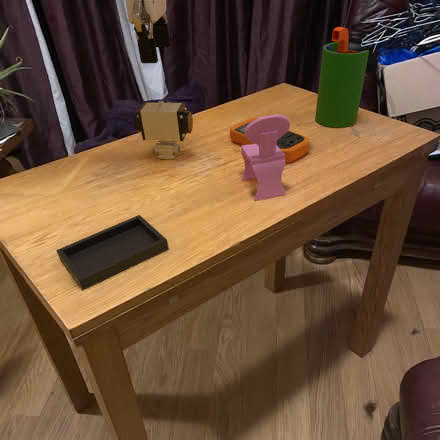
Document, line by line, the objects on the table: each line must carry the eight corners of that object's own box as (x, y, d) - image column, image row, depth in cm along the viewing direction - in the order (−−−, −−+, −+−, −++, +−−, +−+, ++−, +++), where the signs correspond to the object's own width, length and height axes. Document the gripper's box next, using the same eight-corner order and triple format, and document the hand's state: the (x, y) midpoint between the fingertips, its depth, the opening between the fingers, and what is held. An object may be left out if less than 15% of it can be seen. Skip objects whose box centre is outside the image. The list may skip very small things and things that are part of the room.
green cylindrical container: (362, 118, 104) (379, 23, 90) (344, 131, 100) (359, 34, 86) (326, 109, 109) (337, 18, 95) (307, 121, 105) (315, 28, 91)
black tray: (82, 290, 66) (78, 280, 64) (59, 259, 71) (55, 250, 70) (168, 249, 72) (167, 239, 70) (141, 223, 78) (139, 214, 76)
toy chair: (274, 172, 88) (277, 97, 77) (291, 193, 82) (296, 115, 71) (236, 179, 87) (233, 104, 76) (250, 202, 81) (249, 123, 70)
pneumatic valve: (191, 162, 93) (185, 106, 85) (140, 160, 95) (129, 105, 86) (197, 150, 97) (191, 95, 88) (147, 149, 99) (138, 95, 90)
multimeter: (286, 167, 89) (287, 151, 87) (227, 141, 99) (227, 126, 97) (312, 152, 93) (314, 137, 91) (254, 129, 103) (254, 115, 101)
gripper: (132, -66, 77) (149, 41, 89) (98, -52, 65) (124, 70, 77) (172, -68, 75) (184, 40, 87) (146, -55, 63) (164, 69, 75)
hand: (156, 54), depth 82 cm, fingers open, 9 cm apart
